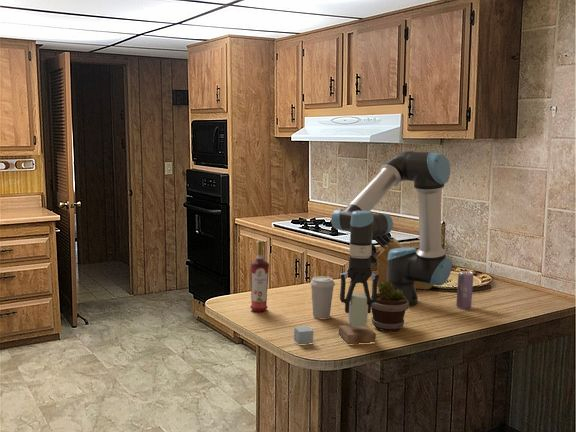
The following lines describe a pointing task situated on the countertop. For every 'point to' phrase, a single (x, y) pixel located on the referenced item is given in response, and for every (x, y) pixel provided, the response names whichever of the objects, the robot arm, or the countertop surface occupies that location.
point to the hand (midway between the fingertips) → (357, 321)
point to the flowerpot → (389, 308)
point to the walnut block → (357, 334)
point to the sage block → (358, 310)
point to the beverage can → (464, 290)
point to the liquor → (259, 280)
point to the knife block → (382, 256)
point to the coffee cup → (322, 296)
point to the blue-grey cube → (303, 335)
